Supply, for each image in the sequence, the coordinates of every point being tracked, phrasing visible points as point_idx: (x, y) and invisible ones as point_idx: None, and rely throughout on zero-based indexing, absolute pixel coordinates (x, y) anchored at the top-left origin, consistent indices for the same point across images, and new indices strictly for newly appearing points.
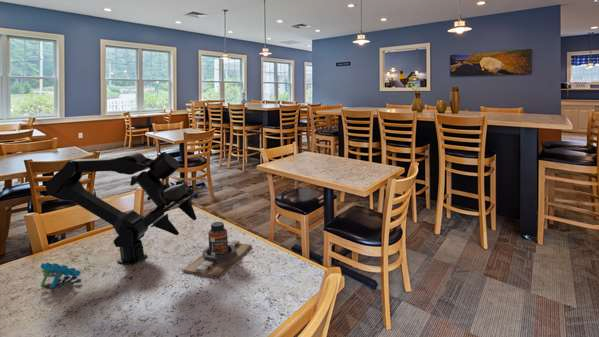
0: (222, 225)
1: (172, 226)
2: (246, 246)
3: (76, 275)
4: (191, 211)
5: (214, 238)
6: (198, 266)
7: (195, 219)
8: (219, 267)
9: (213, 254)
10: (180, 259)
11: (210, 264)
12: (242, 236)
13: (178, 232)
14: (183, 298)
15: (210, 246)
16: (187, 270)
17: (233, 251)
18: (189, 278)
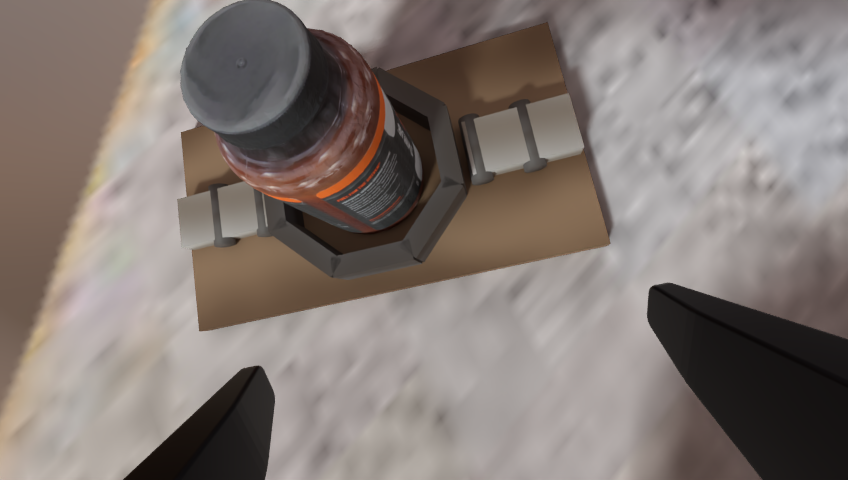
0: (246, 4)
1: (812, 342)
2: (206, 142)
3: None
4: (188, 476)
5: (379, 86)
6: (527, 191)
7: (265, 373)
8: (472, 82)
9: (417, 156)
10: (497, 395)
11: (498, 113)
12: (95, 280)
13: (663, 290)
14: (800, 18)
15: (404, 162)
16: (600, 210)
17: None
18: (634, 155)
